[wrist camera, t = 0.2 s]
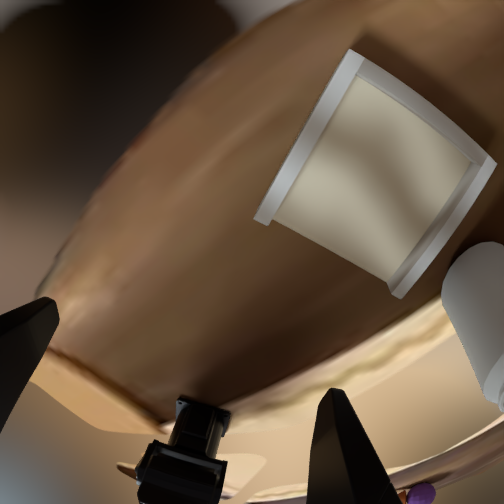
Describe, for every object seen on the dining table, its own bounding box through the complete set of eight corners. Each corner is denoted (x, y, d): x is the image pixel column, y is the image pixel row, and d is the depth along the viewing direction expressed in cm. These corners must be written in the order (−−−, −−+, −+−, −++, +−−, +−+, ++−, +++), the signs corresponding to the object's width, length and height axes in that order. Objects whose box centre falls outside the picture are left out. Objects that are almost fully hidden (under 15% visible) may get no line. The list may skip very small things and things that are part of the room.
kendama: (333, 512, 42) (437, 498, 35) (337, 489, 47) (435, 475, 40) (337, 522, 43) (434, 510, 36) (341, 500, 49) (433, 487, 41)
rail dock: (394, 283, 23) (400, 299, 21) (257, 207, 22) (253, 218, 20) (482, 157, 17) (497, 164, 15) (344, 53, 16) (349, 48, 14)
